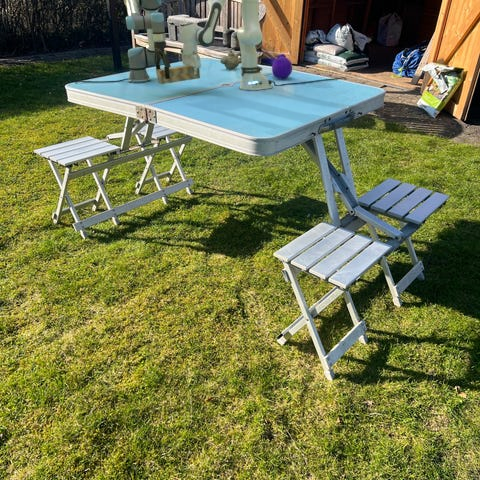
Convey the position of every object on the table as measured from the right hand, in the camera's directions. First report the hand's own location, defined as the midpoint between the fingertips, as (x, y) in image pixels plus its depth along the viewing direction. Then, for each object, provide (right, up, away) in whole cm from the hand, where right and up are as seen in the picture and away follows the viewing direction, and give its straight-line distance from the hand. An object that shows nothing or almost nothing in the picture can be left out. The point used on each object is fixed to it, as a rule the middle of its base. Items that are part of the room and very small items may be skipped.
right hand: (192, 73), depth 295 cm
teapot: (+25, +33, +80) cm, 90 cm away
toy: (+60, +14, +46) cm, 77 cm away
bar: (-8, -6, -3) cm, 10 cm away
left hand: (-18, -6, -9) cm, 21 cm away
